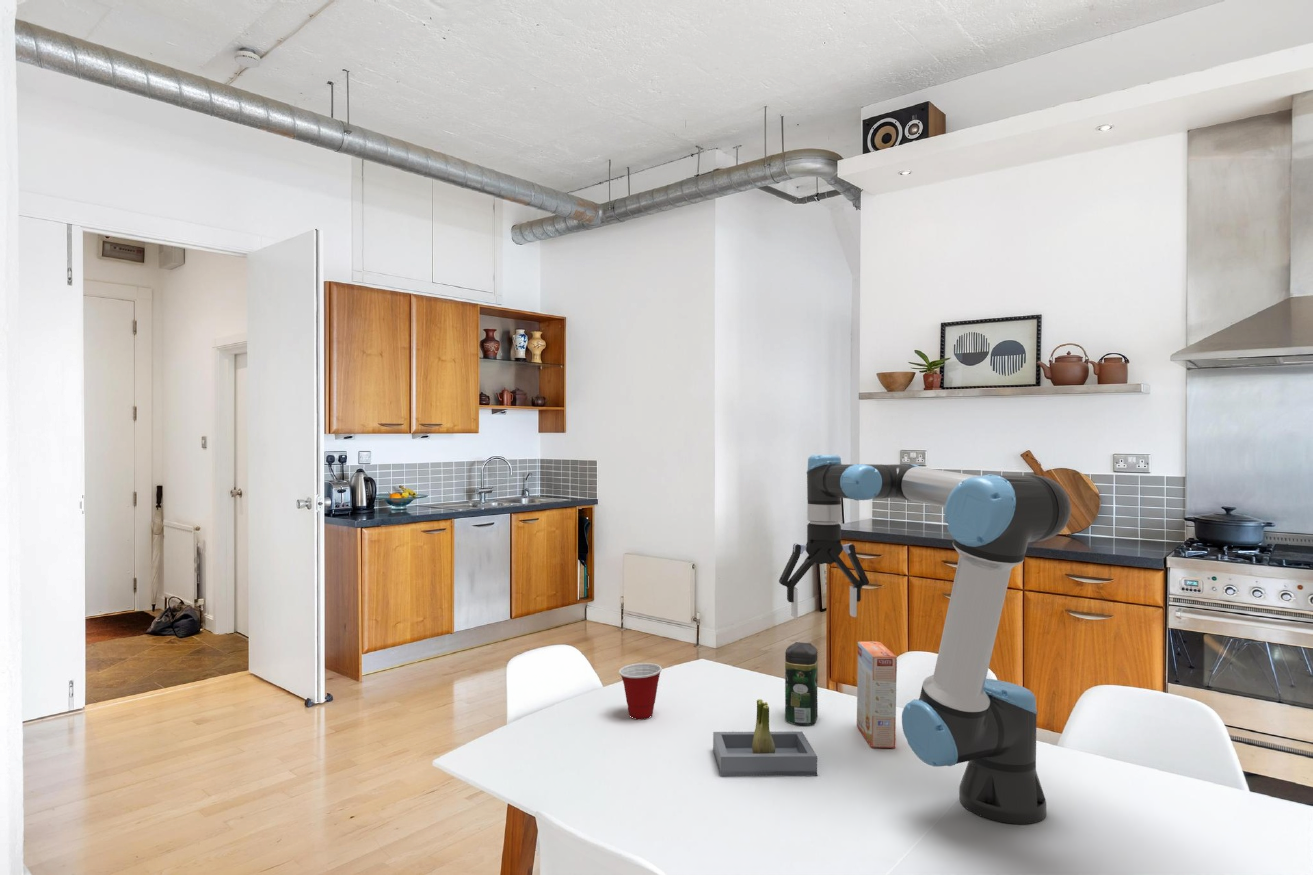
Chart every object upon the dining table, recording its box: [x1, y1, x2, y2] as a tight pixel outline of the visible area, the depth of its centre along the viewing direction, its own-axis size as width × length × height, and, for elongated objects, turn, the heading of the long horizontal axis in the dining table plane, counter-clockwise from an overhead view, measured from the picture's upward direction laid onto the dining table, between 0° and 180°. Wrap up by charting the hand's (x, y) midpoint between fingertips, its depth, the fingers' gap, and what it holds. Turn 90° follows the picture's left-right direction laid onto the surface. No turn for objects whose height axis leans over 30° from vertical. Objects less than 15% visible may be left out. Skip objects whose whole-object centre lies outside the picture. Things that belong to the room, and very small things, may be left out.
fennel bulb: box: [752, 698, 775, 754], centre depth 169 cm, size 6×5×12 cm
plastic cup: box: [618, 662, 663, 720], centre depth 197 cm, size 11×11×12 cm
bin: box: [712, 730, 818, 777], centre depth 169 cm, size 14×20×4 cm
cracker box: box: [856, 640, 898, 749], centre depth 184 cm, size 14×6×21 cm, turn 179°
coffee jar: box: [784, 641, 819, 726], centre depth 196 cm, size 10×8×19 cm
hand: (823, 616), depth 179 cm, fingers open, 13 cm apart
